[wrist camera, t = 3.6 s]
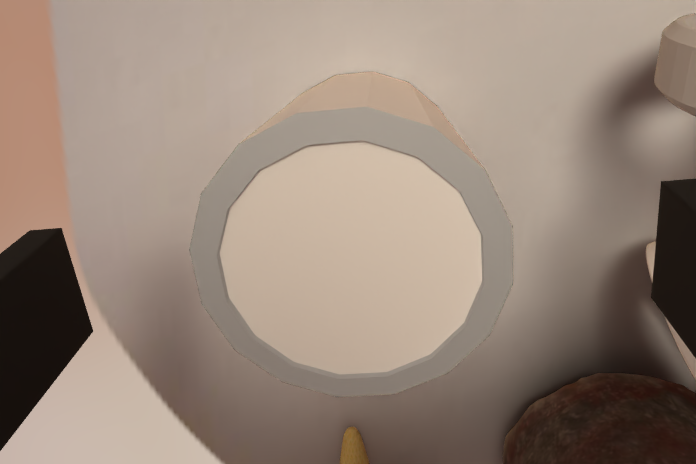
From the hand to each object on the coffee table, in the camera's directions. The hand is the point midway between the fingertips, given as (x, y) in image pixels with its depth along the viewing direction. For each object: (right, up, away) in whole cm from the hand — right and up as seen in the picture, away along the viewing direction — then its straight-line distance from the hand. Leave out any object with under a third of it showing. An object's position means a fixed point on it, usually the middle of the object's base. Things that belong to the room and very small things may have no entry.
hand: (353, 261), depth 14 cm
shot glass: (0, +3, +6) cm, 6 cm away
